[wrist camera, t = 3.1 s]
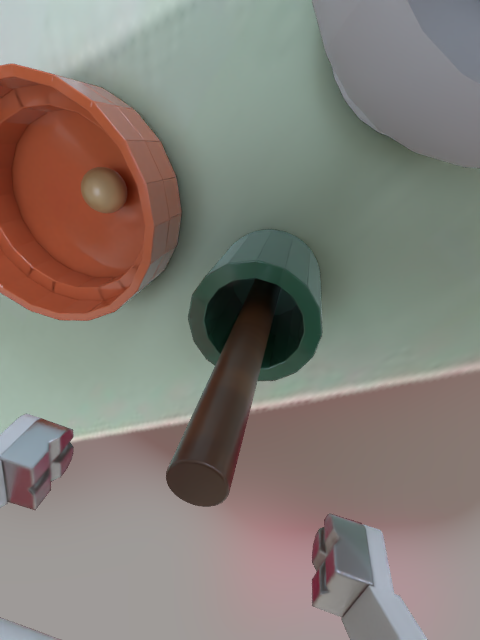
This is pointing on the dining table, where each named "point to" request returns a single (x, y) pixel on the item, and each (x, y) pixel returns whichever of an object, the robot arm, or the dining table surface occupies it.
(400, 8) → the chalice
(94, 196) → the bead
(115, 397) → the dining table surface
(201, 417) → the stick
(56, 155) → the bowl
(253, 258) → the utensil pot
